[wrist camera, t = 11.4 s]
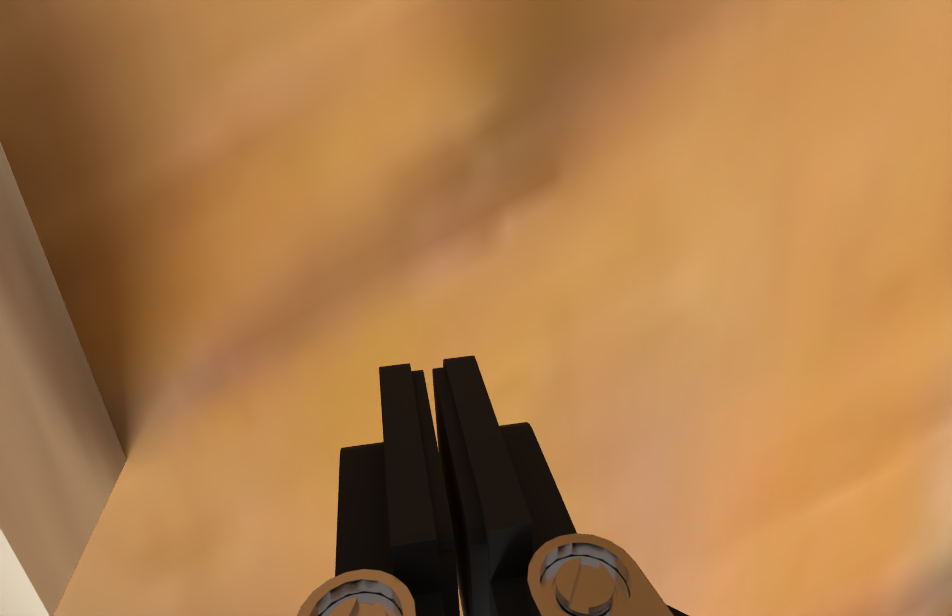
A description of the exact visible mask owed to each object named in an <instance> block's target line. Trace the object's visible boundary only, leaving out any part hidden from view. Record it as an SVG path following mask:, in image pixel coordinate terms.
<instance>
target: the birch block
mask: <svg viewBox="0 0 952 616" xmlns="http://www.w3.org/2000/svg"><path fill="white" fill-rule="evenodd" d="M125 463H126V457H125V455H124V452H123V450H122V447H121V444H120V442H119V439H118V437H117V434H116V432H115V429H114V427H113V424H112V422H111V419H110V417H109V414H108V412H107V409H106V407H105V404H104V402H103V399H102V397H101V394H100V392H99V389H98V387H97V384H96V382H95V379H94V376H93V374H92V371H91V369H90V366H89V364H88V361H87V359H86V356H85V354H84V351H83V349H82V346H81V344H80V341H79V339H78V336H77V334H76V331H75V329H74V326H73V324H72V321H71V319H70V316H69V313H68V311H67V308H66V306H65V303H64V301H63V298H62V296H61V293H60V291H59V288H58V286H57V283H56V281H55V278H54V276H53V273H52V271H51V268H50V266H49V263H48V261H47V258H46V256H45V253H44V251H43V248H42V245H41V243H40V240H39V238H38V235H37V233H36V230H35V228H34V225H33V223H32V220H31V218H30V215H29V213H28V210H27V208H26V205H25V203H24V200H23V198H22V195H21V193H20V190H19V188H18V185H17V183H16V180H15V177H14V175H13V172H12V170H11V167H10V165H9V162H8V160H7V157H6V155H5V152H4V150H3V147H2V145H1V142H0V616H53V615H54V613H55V611H56V609H57V607H58V604H59V602H60V600H61V598H62V596H63V594H64V592H65V590H66V588H67V585H68V583H69V581H70V579H71V577H72V575H73V573H74V571H75V568H76V566H77V564H78V562H79V560H80V558H81V556H82V554H83V552H84V549H85V547H86V545H87V543H88V541H89V539H90V537H91V535H92V532H93V530H94V528H95V526H96V524H97V522H98V520H99V518H100V516H101V513H102V511H103V509H104V507H105V505H106V503H107V501H108V499H109V496H110V494H111V492H112V490H113V488H114V486H115V484H116V482H117V480H118V477H119V475H120V473H121V471H122V469H123V467H124V465H125Z"/></svg>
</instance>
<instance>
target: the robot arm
mask: <svg viewBox="0 0 952 616" xmlns="http://www.w3.org/2000/svg"><path fill="white" fill-rule="evenodd" d="M379 375H380V391H381V407H382V423H383V438H384V442H381V443H374V444H367V445H359V446H352V447H345V448H341V450H340V467H339V492H338V518H337V543H336V569H335V577H334V578H332V579H329V580H328V581H326V582H325V583H324V584H322V585H321V586H320V587H318V588H317V589H316V590H314V591H313V592H312V594H311V595H310V596H309V597H308V598H307V600H306V601H305V602H304V603H303V605H302V606H301V608H300V610H299V612H298V615H297V616H460V611H459V596H458V588H459V593H460V599H461V604H462V610H463V616H689V615H686V614H684V613H682V612H680V611H678V610H676V609H674V608H672V607H670V606H668V605H666V604H665V603H664V601H663V600H662V598H661V597H660V596H659V594H658V593H657V591H656V590H655V589H654V587H653V586H652V584H651V583H650V582H649V580H648V579H647V577H646V576H645V575H644V573H643V572H642V570H641V569H640V567H639V566H638V565H637V563H636V562H635V561H634V560H633V559H632V558H631V557H630V555H629V554H628V553H627V552H626V551H625V550H624V549H622V548H621V547H619V546H617V545H616V544H614V543H613V542H611V541H609V540H607V539H604V538H601V537H598V536H595V535H589V534H578V533H577V532H576V530H575V528H574V525H573V523H572V521H571V518H570V516H569V514H568V511H567V509H566V507H565V504H564V502H563V500H562V497H561V495H560V493H559V490H558V488H557V486H556V483H555V481H554V479H553V476H552V474H551V471H550V469H549V467H548V464H547V462H546V460H545V457H544V455H543V453H542V450H541V448H540V446H539V443H538V441H537V439H536V436H535V434H534V432H533V429H532V428H531V426H530V424H529V423H528V422H524V423H517V424H510V425H502V426H499V425H498V422H497V419H496V416H495V413H494V410H493V408H492V405H491V402H490V399H489V396H488V393H487V390H486V387H485V385H484V382H483V379H482V376H481V373H480V370H479V367H478V364H477V362H476V359H475V357H474V356H466V357H458V358H450V359H444V360H443V368H435V369H433V386H434V398H435V411H436V424H437V437H438V447H437V441H436V436H435V431H434V425H433V420H432V415H431V409H430V404H429V399H428V393H427V388H426V383H425V377H424V372H423V370H418V371H411V367H410V363H409V364H400V365H392V366H384V367H379ZM438 449H439V452H438Z"/></svg>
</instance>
